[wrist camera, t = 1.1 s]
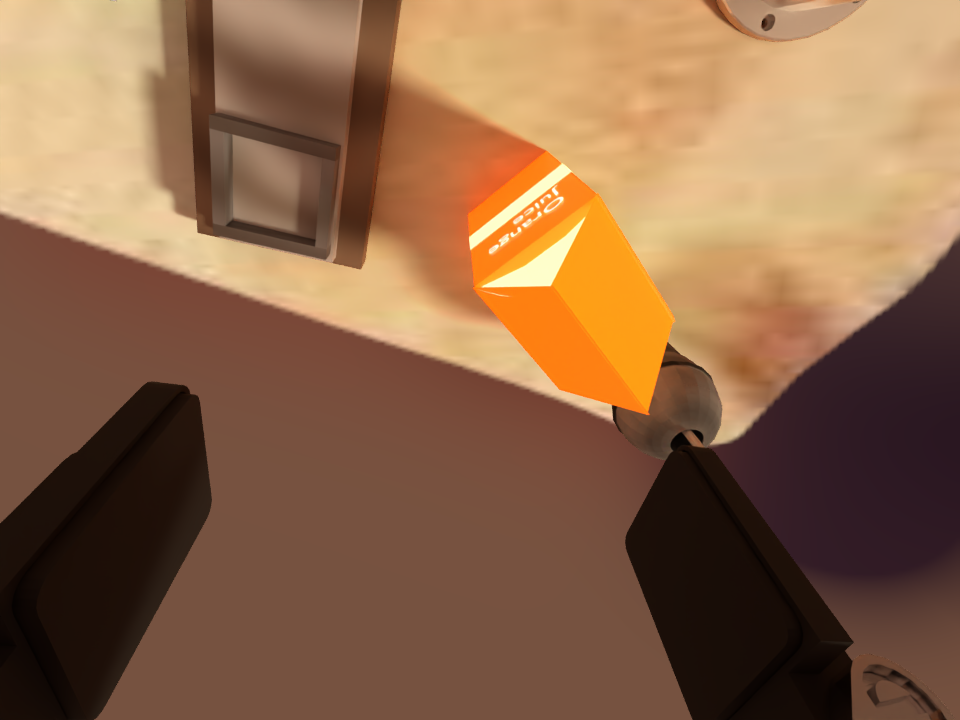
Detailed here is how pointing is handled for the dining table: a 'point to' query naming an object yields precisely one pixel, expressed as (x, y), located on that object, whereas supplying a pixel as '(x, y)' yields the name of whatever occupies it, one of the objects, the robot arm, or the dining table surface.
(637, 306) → the orange juice
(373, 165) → the rail board
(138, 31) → the dining table surface
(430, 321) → the dining table surface
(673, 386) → the beverage cup
